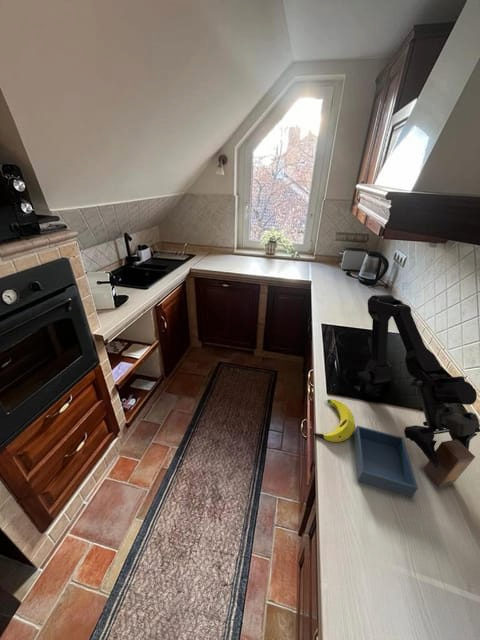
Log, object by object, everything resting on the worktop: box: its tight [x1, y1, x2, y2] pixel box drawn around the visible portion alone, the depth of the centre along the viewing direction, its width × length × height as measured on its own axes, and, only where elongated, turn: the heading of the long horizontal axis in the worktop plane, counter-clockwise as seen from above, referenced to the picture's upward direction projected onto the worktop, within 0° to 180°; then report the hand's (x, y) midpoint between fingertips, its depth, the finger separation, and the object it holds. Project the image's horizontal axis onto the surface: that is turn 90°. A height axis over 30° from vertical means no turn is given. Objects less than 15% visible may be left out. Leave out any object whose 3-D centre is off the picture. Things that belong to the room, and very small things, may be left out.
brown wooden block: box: [422, 439, 476, 488], centre depth 68 cm, size 5×5×13 cm
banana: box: [312, 399, 356, 443], centre depth 86 cm, size 5×17×15 cm
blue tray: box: [352, 425, 419, 499], centre depth 73 cm, size 15×13×5 cm
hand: (450, 464), depth 67 cm, fingers open, 9 cm apart
